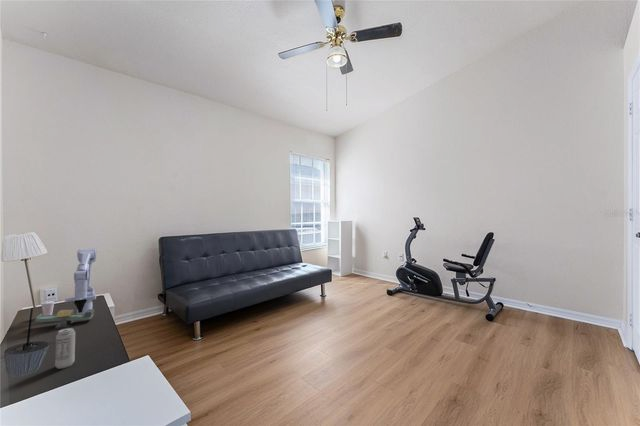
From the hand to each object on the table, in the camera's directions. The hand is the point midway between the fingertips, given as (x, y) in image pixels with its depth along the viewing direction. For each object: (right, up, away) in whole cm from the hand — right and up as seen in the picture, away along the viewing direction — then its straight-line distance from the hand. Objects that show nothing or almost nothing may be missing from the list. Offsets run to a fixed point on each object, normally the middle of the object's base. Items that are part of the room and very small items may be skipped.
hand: (80, 312), depth 166 cm
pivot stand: (-6, -6, -4) cm, 9 cm away
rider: (-6, -1, -4) cm, 7 cm away
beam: (-6, -2, -3) cm, 7 cm away
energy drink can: (+40, -4, -52) cm, 65 cm away
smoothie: (-30, -7, +9) cm, 32 cm away
